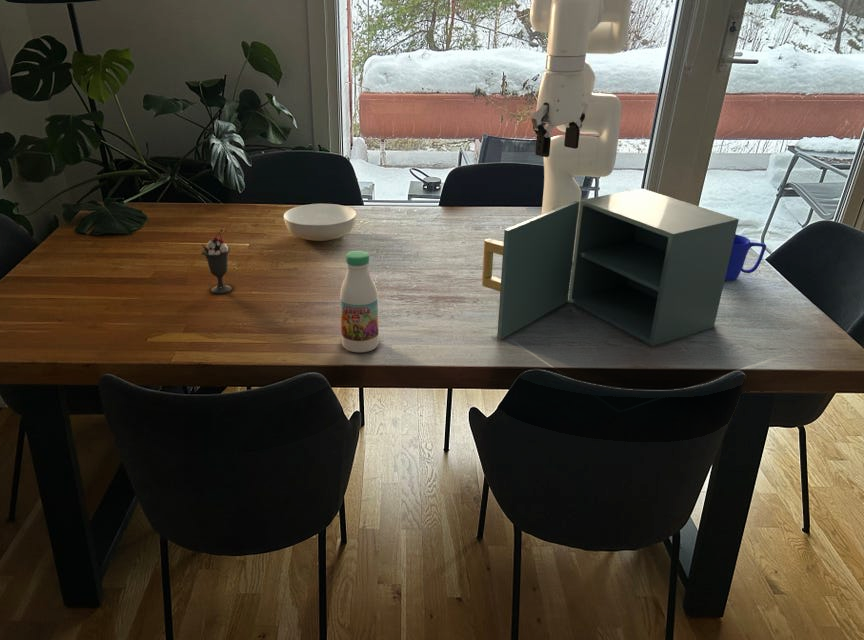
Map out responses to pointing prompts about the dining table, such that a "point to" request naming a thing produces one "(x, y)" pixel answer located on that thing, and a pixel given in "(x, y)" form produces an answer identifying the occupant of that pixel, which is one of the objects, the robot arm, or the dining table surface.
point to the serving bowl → (320, 221)
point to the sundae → (217, 262)
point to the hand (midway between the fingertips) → (556, 151)
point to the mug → (741, 257)
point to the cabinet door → (532, 267)
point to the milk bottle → (359, 305)
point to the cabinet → (651, 263)
